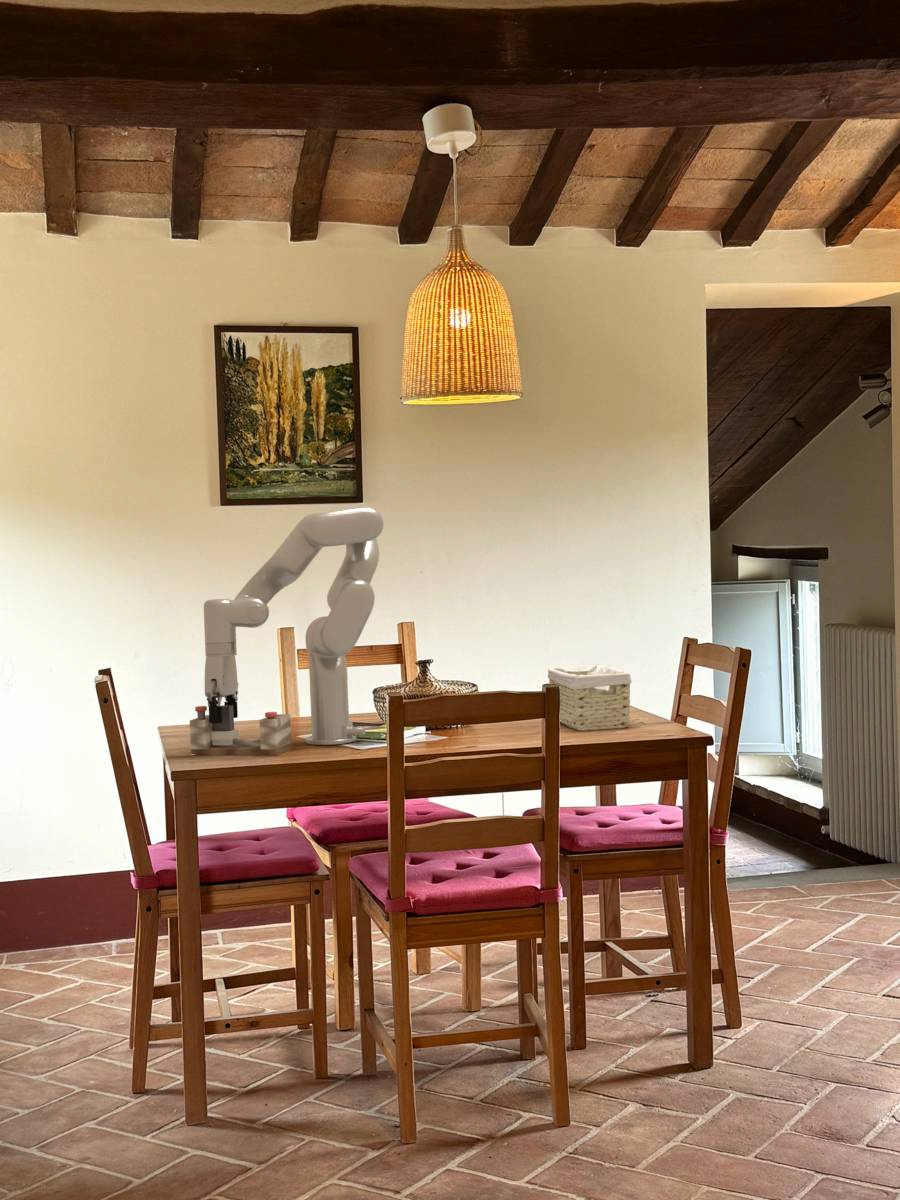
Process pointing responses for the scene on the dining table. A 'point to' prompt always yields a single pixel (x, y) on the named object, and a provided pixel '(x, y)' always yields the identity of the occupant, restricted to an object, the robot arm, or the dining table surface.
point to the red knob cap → (271, 715)
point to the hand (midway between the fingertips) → (223, 720)
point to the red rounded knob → (201, 712)
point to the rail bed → (270, 743)
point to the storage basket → (592, 696)
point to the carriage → (225, 728)
